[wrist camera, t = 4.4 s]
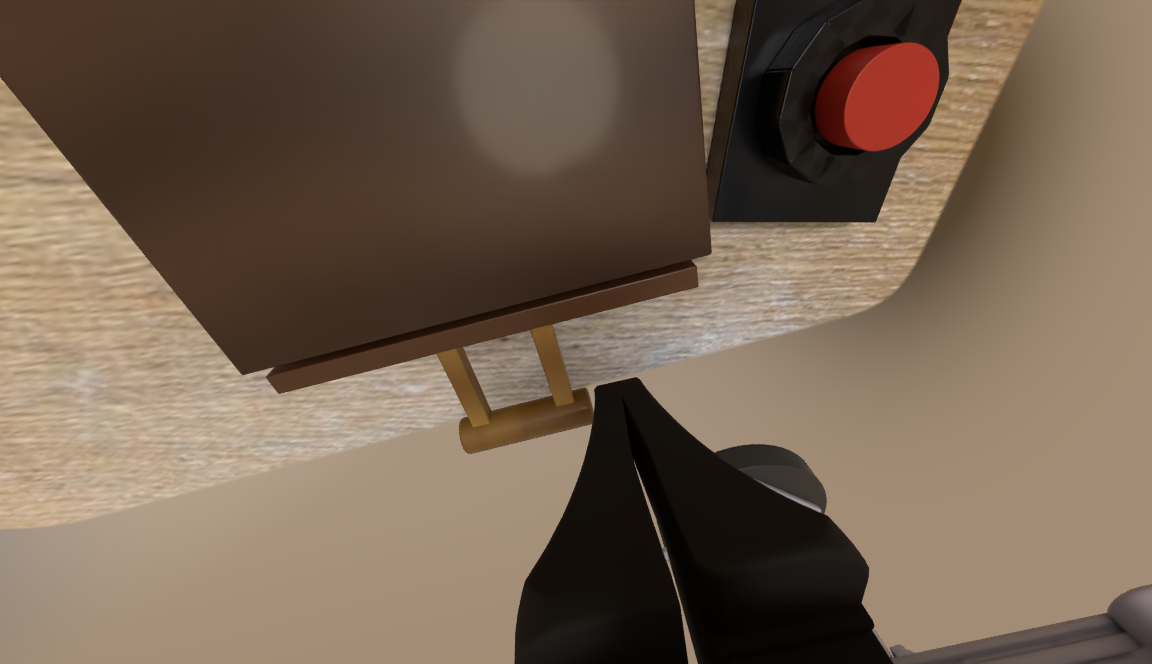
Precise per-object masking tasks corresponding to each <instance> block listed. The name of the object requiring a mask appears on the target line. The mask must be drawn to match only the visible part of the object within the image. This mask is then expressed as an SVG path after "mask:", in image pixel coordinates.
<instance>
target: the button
mask: <svg viewBox="0 0 1152 664" xmlns="http://www.w3.org/2000/svg"><path fill="white" fill-rule="evenodd" d="M938 86H939V67H938V64H937V61H936V59H935V57H934V55H933V54H932V52H931V51H930V50H929V49H927V48H926V47H924V46H923V45H920V44H918V43H912V42H907V43H897V44H889V45H881V46H873V47H866V48H862V49H859V50H856V51H854V52H852V53H850V54H849V55H847V56H846V57H844V58H843V59H842V60H840V61H839V62H838V63H837V64H836V65H835V66H834V67H833V68H832V70H831V71H830V72H829V73H828V75H827V76H826V78H825V80H824V81H823V83H822V85H821V87H820V90H819V92H818V95H817V98H816V103H815V122H816V126H817V129H818V131H819V133H820V134H821V136H822V137H823V138H824V139H825V140H826V141H828V142H829V143H832V144H834V145H838V146H843V147H849V148H854V149H860V150H865V151H881V150H885V149H888V148H891V147H893V146H895V145H897V144H899V143H900V142H902V141H903V140H905V139H906V138H908V137H909V136H910V135H911V134H912V133H913V132H914V131H915V130H916V129H917V128H918V127H919V126H920V124H921V123H922V122H923V121H924V119H925V118H926V116H927V115H928V113H929V111H930V109H931V107H932V105H933V103H934V101H935V98H936V95H937V91H938Z"/></svg>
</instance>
